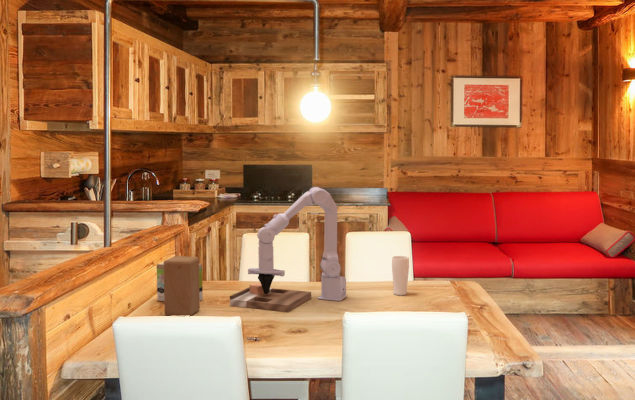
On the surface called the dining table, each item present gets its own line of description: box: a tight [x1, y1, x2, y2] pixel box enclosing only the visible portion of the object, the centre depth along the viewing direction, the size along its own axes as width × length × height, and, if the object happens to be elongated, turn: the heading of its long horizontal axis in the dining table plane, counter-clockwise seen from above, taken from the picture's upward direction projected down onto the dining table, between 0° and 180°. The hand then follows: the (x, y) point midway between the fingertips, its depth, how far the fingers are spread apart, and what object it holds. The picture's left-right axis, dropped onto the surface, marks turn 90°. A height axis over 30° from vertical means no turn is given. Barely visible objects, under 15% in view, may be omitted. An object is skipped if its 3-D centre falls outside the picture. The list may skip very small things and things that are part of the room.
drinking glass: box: [391, 255, 410, 296], centre depth 260 cm, size 7×7×15 cm
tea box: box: [156, 262, 204, 302], centre depth 251 cm, size 15×10×15 cm, turn 62°
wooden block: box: [162, 255, 201, 316], centre depth 233 cm, size 10×10×20 cm
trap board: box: [229, 286, 312, 313], centre depth 249 cm, size 24×22×4 cm
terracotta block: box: [249, 282, 264, 295], centre depth 254 cm, size 5×5×3 cm
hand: (266, 293), depth 250 cm, fingers closed
